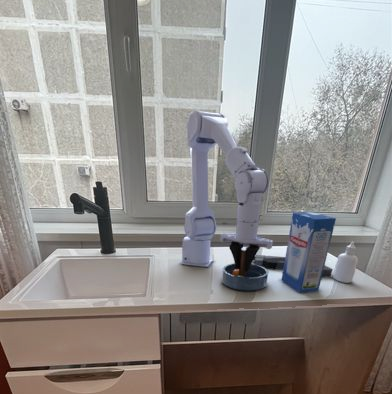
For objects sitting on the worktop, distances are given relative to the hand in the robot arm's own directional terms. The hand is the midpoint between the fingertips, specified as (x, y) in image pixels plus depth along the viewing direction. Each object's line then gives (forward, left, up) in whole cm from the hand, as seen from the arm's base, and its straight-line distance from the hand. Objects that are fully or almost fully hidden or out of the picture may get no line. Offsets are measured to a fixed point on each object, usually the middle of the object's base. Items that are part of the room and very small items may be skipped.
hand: (242, 269), depth 82 cm
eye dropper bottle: (+30, +15, -5) cm, 34 cm away
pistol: (+14, +21, -5) cm, 25 cm away
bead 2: (0, -2, -3) cm, 3 cm away
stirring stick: (0, +1, -3) cm, 3 cm away
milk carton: (+17, +6, -5) cm, 18 cm away
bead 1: (-2, +3, -3) cm, 5 cm away
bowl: (+1, +2, -5) cm, 5 cm away
